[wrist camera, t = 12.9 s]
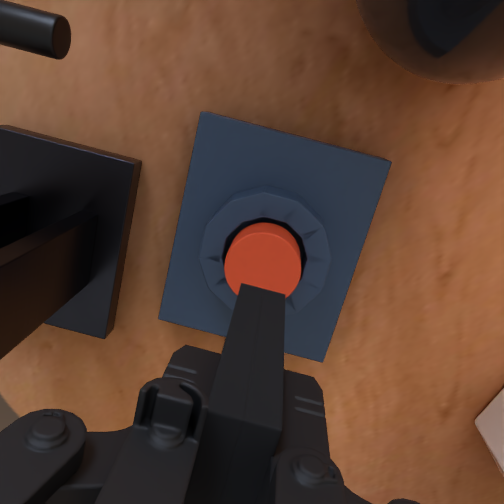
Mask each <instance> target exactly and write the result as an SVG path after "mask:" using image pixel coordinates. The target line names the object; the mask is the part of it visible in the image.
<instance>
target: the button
mask: <svg viewBox="0 0 504 504" xmlns="http://www.w3.org/2000/svg"><path fill="white" fill-rule="evenodd" d="M224 272H225V277H226V280H227V283H228V284H229V286H230V288H231V289H232V291H233V292H234V293H235V294H236V295H238V293H239V289H240V286H241V283H244V284H248V285H252V286H256V287H259V288H263V289H267V290H271V291H275V292H278V293H282V294H286V295H285V298H287V297H288V296H289V295H290V294H291V293H292V292H293V291H294V290H295V288H296V287H297V285H298V283H299V280H300V276H301V258H300V250H299V246H298V244H297V242H296V240H295V238H294V237H293V235H292V234H291V233H290V232H289V231H287V230H286V229H285V228H283V227H281V226H279V225H277V224H274V223H268V222H261V223H255V224H252V225H249V226H247V227H245V228H244V229H242V230H241V231H240V232H239V233H238V234H237V235H236V237H235V238H234V240H233V242H232V244H231V246H230V248H229V250H228V253H227V255H226V258H225V263H224Z"/></svg>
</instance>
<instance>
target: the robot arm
mask: <svg viewBox="0 0 504 504" xmlns="http://www.w3.org/2000/svg"><path fill="white" fill-rule="evenodd" d="M285 295H286V294H282V293H278V292H275V291H271V290H267V289H263V288H259V287H256V286H252V285H248V284H244V283H241V286H240V289H239V293H238V296H237V300H236V303H235V307H234V311H233V314H232V318H231V321H230V325H229V329H228V332H227V336H226V339H225V343H224V346H223V350H222V354H219V353H215V352H211V351H208V350H204V349H200V348H196V347H193V346H189V345H185V346H183V347H182V348H180V349H179V350H177V351H176V352H174V353H173V355H172V357H171V359H170V361H169V363H168V366H167V368H166V370H165V372H164V374H163V377H162V378H156V379H154V380H152V381H149V382H147V383H146V384H145V385H144V386H143V387H142V388H141V389H140V392H139V397H138V402H137V407H136V412H135V417H134V422H133V425H132V426H130V427H128V428H126V429H122V430H118V431H111V432H87V428H86V426H85V425H84V423H83V421H82V419H80V418H79V417H77V416H76V415H75V414H73V413H71V412H68V411H64V410H61V409H43V410H39V411H34V412H30V413H28V414H26V415H25V416H23V417H21V418H19V419H17V420H16V421H14V422H13V423H12V424H10V425H9V426H8V427H6V428H5V429H4V430H2V431H1V432H0V504H372V503H370V502H368V501H366V500H364V499H362V498H361V497H359V496H358V495H356V494H355V493H353V492H352V491H351V490H349V489H348V488H347V487H346V486H345V485H344V481H343V478H342V475H341V472H340V470H339V468H338V467H337V466H336V465H335V463H334V462H333V461H332V460H331V459H330V452H329V443H328V435H327V426H326V418H325V408H324V400H323V391H322V389H321V388H320V386H319V385H318V383H317V381H316V380H315V378H314V377H311V376H308V375H304V374H300V373H296V372H292V371H289V370H285V369H284V335H285ZM388 504H420V503H418V502H416V501H412V500H408V499H404V498H402V499H395V500H391V501H390V502H389V503H388Z"/></svg>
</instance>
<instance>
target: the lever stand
mask: <svg viewBox="0 0 504 504" xmlns="http://www.w3.org/2000/svg"><path fill="white" fill-rule="evenodd" d="M141 164H142V161H141V160H137V159H134V158H130V157H126V156H122V155H119V154H115V153H111V152H107V151H103V150H100V149H96V148H92V147H88V146H84V145H81V144H77V143H73V142H69V141H66V140H62V139H58V138H54V137H50V136H47V135H43V134H39V133H35V132H32V131H28V130H24V129H20V128H16V127H13V126H9V125H0V360H1V359H2V358H3V357H4V356H5V355H6V354H8V353H9V352H10V351H11V350H12V349H13V348H15V347H16V346H17V345H18V344H19V343H20V342H22V341H23V340H24V339H25V338H26V337H27V336H29V335H30V334H31V333H32V332H33V331H34V330H36V329H37V328H38V327H39V326H40V325H41V324H43V323H45V324H49V325H53V326H56V327H60V328H64V329H68V330H72V331H75V332H79V333H83V334H87V335H90V336H94V337H98V338H102V339H105V338H106V337H107V336H108V335H109V333H110V332H111V331H112V330H113V327H114V321H115V315H116V309H117V303H118V298H119V292H120V286H121V280H122V274H123V269H124V263H125V257H126V251H127V245H128V240H129V234H130V228H131V222H132V216H133V211H134V205H135V199H136V193H137V187H138V181H139V176H140V170H141Z"/></svg>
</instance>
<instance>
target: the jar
mask: <svg viewBox="0 0 504 504" xmlns="http://www.w3.org/2000/svg"><path fill="white" fill-rule="evenodd" d="M475 425H476V427H477V429H478V431H479V432H480V434H481V436H482V438H483V440H484V442H485V444H486V446H487V448H488V450H489V451H490V453H491V455H492V457H493V459H494V461H495V463H496V465H497V467H498V469H499V470H500V472H501V474H502V476H503V478H504V388H503V389H502V390H501V391H500V392H499V394H498V395H497V396H496V397H495V398H494V399H493V400H492V401H491V402H490V404H489V405H488V406H487V407H486V408H485V409H484V410H483V411H482V412H481V414H480V415H479V416H478V417H477V418H476V419H475Z"/></svg>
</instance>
